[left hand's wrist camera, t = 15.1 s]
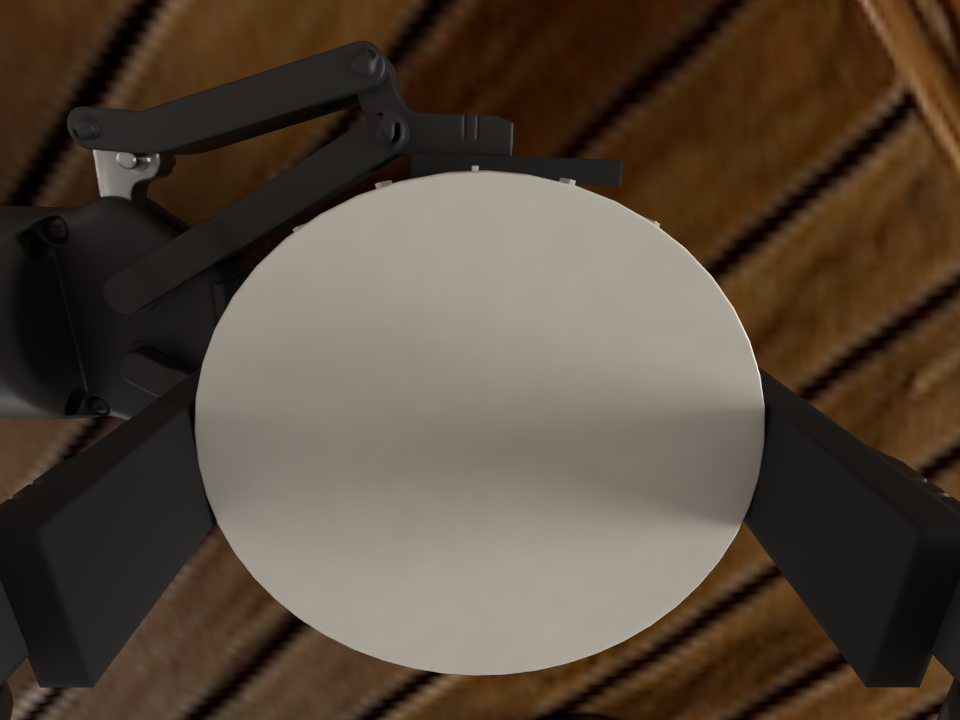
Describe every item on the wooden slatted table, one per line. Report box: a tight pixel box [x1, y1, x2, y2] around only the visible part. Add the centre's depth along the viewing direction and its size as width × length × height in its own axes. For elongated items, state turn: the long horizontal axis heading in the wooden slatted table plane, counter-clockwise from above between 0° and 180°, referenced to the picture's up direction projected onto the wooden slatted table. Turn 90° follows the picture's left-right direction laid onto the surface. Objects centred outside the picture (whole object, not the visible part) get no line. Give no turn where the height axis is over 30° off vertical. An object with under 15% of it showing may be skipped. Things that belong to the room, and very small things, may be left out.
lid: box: [194, 166, 765, 675], centre depth 11 cm, size 11×11×2 cm
